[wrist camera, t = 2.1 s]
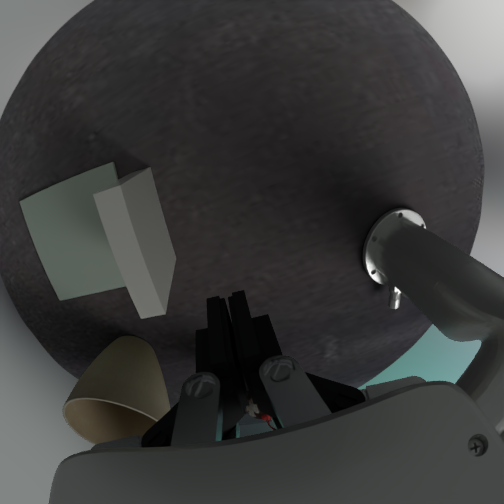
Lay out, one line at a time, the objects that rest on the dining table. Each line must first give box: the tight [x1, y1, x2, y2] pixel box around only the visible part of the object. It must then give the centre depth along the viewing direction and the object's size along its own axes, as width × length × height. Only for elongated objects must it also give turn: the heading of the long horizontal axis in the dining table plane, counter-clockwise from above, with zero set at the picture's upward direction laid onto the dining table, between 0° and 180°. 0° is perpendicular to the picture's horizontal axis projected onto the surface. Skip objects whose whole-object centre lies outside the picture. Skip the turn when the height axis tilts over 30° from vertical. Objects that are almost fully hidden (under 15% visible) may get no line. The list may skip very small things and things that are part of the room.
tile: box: [93, 167, 176, 319], centre depth 27 cm, size 12×3×12 cm, turn 10°
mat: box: [20, 162, 126, 301], centre depth 31 cm, size 16×16×1 cm
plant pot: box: [63, 336, 170, 445], centre depth 33 cm, size 15×15×16 cm
